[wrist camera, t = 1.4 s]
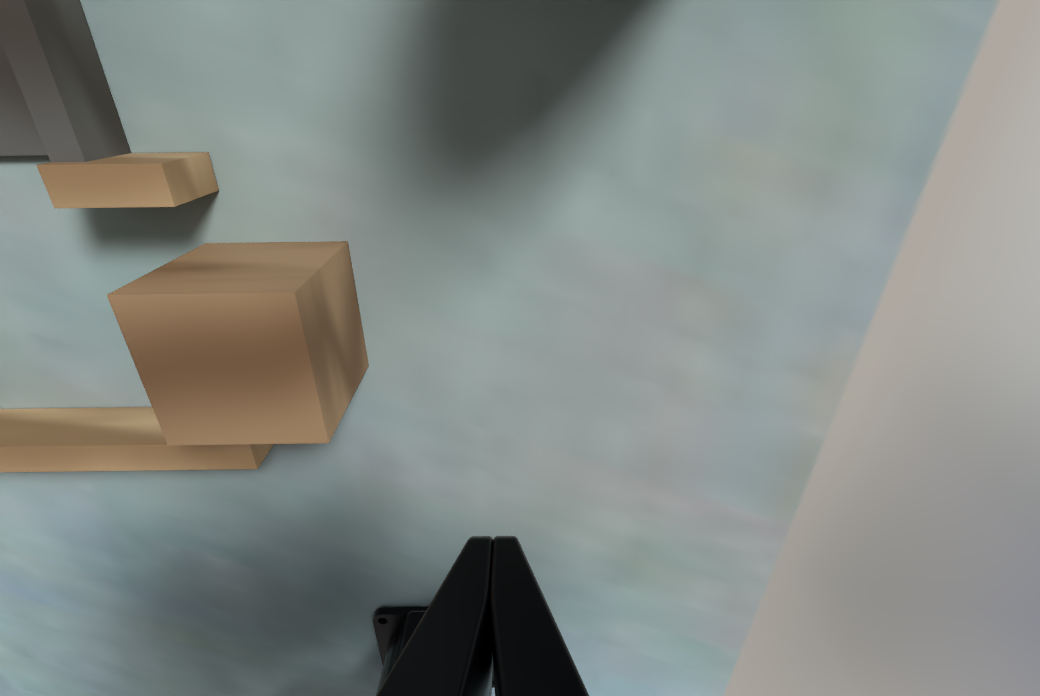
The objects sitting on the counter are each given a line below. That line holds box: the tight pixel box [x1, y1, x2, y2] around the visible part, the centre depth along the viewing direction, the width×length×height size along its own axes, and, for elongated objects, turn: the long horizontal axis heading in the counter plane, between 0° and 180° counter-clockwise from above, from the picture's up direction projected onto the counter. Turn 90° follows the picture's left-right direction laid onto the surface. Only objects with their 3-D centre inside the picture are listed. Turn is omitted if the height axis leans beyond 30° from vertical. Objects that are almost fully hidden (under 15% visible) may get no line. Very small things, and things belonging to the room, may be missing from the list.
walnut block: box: [107, 241, 369, 445], centre depth 17 cm, size 5×5×5 cm
